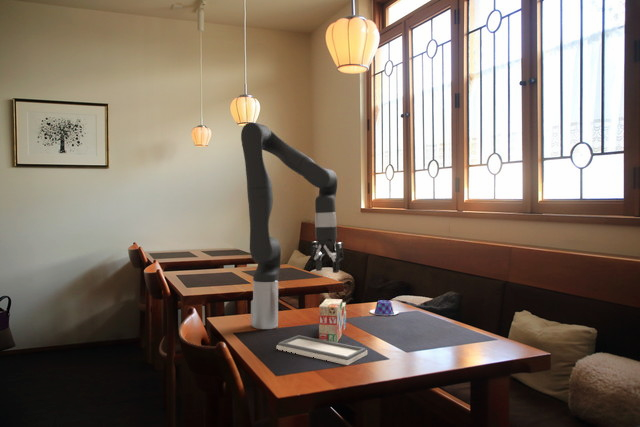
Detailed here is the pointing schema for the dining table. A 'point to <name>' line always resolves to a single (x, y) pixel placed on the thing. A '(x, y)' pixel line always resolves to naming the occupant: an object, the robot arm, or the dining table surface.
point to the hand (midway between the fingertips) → (327, 271)
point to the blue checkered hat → (384, 308)
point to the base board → (322, 349)
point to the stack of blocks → (332, 319)
